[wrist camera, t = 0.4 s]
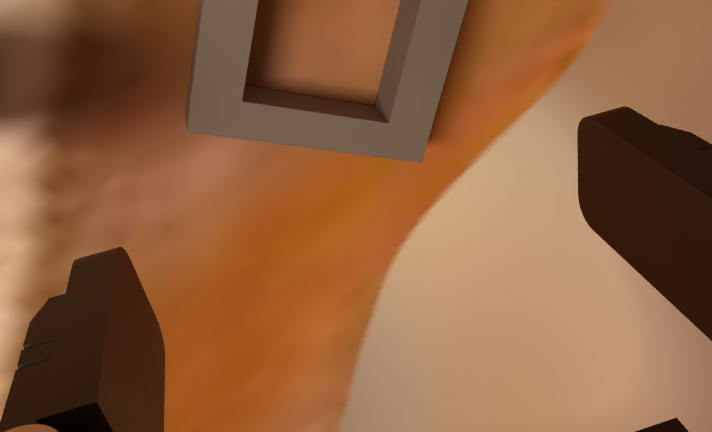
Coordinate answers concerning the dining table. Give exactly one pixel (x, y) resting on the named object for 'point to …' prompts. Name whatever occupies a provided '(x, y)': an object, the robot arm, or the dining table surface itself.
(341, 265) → the dining table surface
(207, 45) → the socket block
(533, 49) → the dining table surface
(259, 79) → the dining table surface
